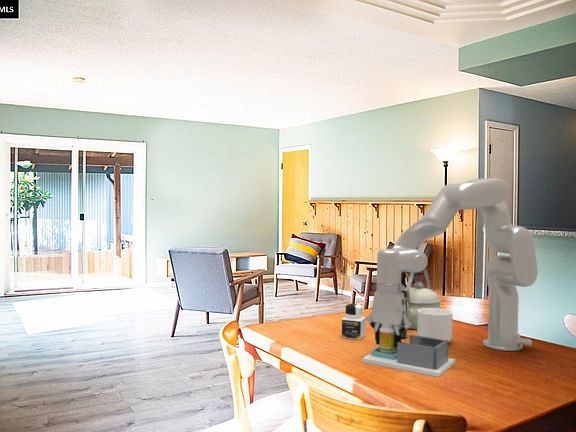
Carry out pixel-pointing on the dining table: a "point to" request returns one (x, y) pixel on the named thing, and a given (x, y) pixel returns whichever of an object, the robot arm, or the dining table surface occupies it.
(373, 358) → the base plate
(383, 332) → the supplement bottle
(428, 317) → the handleless ceramic cup
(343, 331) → the medicine bottle
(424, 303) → the kettle
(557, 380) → the dining table surface
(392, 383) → the dining table surface
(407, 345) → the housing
